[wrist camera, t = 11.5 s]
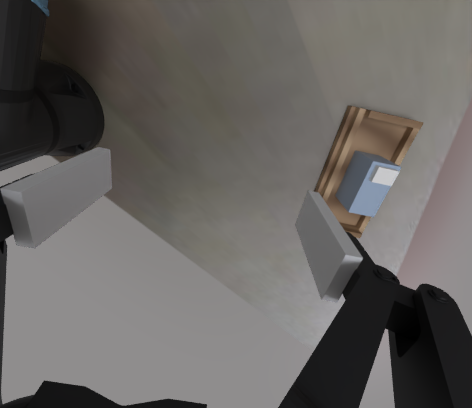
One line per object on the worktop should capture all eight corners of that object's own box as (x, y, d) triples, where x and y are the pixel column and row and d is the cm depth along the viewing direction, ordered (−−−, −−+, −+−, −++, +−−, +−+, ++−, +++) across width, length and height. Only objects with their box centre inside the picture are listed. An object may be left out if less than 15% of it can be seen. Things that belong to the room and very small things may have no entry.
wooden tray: (358, 227, 50) (368, 239, 46) (304, 216, 49) (309, 228, 45) (415, 121, 40) (434, 125, 36) (348, 105, 39) (359, 107, 35)
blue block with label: (357, 200, 45) (376, 220, 38) (335, 195, 45) (350, 215, 38) (379, 155, 41) (405, 169, 34) (355, 150, 41) (376, 163, 34)
